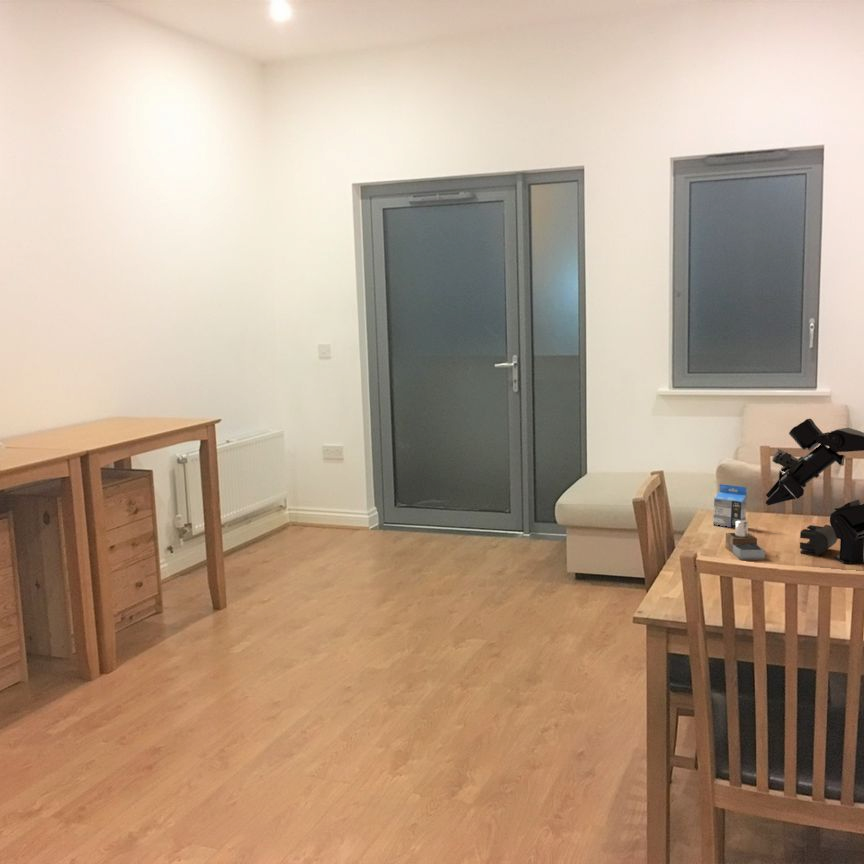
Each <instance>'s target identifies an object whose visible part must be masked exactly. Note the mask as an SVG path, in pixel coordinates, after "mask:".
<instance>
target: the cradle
mask: <svg viewBox="0 0 864 864" xmlns="http://www.w3.org/2000/svg"><path fill="white" fill-rule="evenodd" d="M732 554H733V555H734V556H735V557H737V559H739V558H740V559H739V560H741V561H745V560H744V559H748V560H749V561H751V560H752V561H753V560H756V561H757V560H758V561H759V560H762V561H763V560H766V558H765V557H766V550H765V549H764V548H763V547H762V546H760V544H758V543H757V544H733V553H732Z"/></svg>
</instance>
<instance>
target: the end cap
mask: <svg viewBox="0 0 864 864" xmlns="http://www.w3.org/2000/svg"><path fill="white" fill-rule="evenodd" d="M799 537H800V539H806V540H809V541H807V542H799V549H800V551H799V552H800V553H799V554H801V555H807V556H808V555H809V556H815V557H817V556H820V555H822V554H823V553H825V552H826V551H827V550H829V549H830V548H831V547H832V546H834V545H835V544H836V543H837V541H838V539H837V538H836V535H835V531H834V529H833V528H832V526H831V524H830V525H829V524H825V525H824V526H819V525H811V524H809V526H807V527H806V528H803V529H802V530H800V535H799Z"/></svg>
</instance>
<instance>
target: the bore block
mask: <svg viewBox="0 0 864 864" xmlns="http://www.w3.org/2000/svg"><path fill="white" fill-rule="evenodd" d="M733 544H758V538H757V537H756V536H754V535H753V534H752V533H751V532H748V537H747V538H735V532H726V533H725V548H726V549H727V550H729V551H730V553H732V554H733Z"/></svg>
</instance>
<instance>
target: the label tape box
mask: <svg viewBox="0 0 864 864" xmlns="http://www.w3.org/2000/svg"><path fill="white" fill-rule="evenodd" d="M718 489H719V492H717V494H716V495H715V497H714V498H713V517H712V524H715V525H714V526H718V525H720V526H719V527H725V526H727V528H731V527H733V528H732V529H735V522H736V520H746V521H747V498H748V496H747V487H746V486H739V485H731V484H723V483H719V488H718ZM732 489H733V490H732ZM734 490H735V491H734ZM736 490H737V491H736Z"/></svg>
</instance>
